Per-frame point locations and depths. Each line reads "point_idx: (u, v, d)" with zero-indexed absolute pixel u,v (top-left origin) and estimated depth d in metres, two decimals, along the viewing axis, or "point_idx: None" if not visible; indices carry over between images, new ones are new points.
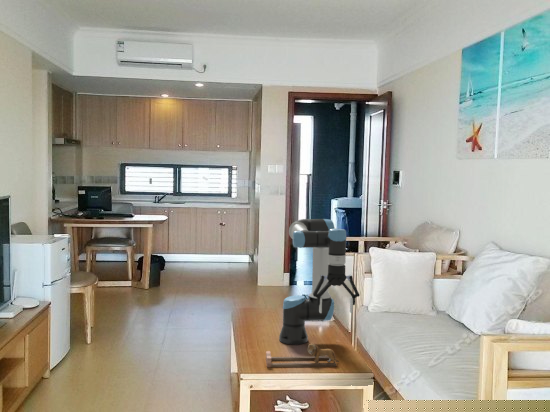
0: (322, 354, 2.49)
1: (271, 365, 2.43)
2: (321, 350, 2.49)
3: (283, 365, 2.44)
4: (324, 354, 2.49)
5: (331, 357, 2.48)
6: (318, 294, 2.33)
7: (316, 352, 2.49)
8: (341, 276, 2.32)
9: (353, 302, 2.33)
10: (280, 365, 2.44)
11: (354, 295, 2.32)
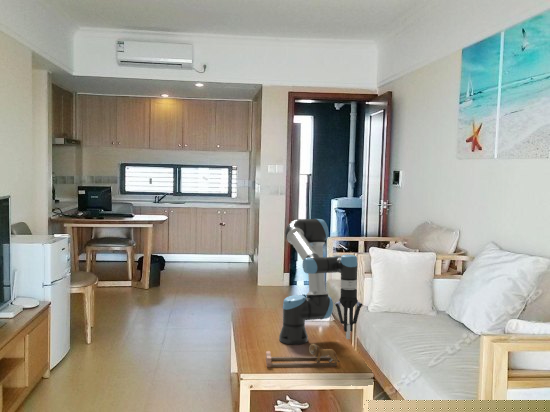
0: (324, 354, 2.49)
1: (271, 365, 2.43)
2: (322, 350, 2.49)
3: (283, 365, 2.44)
4: (326, 354, 2.49)
5: (333, 357, 2.48)
6: None
7: (318, 352, 2.49)
8: (354, 298, 2.48)
9: (350, 329, 2.49)
10: (280, 365, 2.44)
11: (352, 323, 2.48)
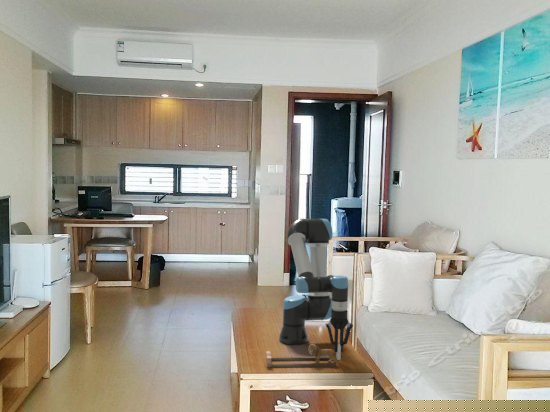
0: (323, 354, 2.49)
1: (271, 365, 2.43)
2: (322, 350, 2.49)
3: (283, 365, 2.44)
4: (325, 354, 2.49)
5: (332, 357, 2.48)
6: None
7: (317, 352, 2.48)
8: (345, 319, 2.48)
9: (341, 349, 2.50)
10: (280, 365, 2.44)
11: (342, 343, 2.49)
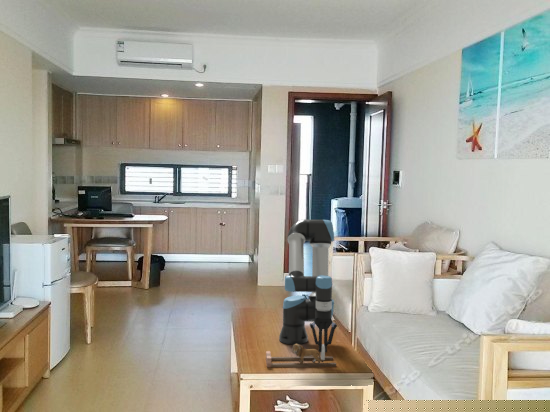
0: (307, 354, 2.48)
1: (271, 365, 2.43)
2: (306, 350, 2.49)
3: (283, 365, 2.44)
4: (309, 354, 2.48)
5: (316, 357, 2.47)
6: None
7: (301, 352, 2.48)
8: (329, 319, 2.48)
9: (325, 349, 2.49)
10: (280, 365, 2.44)
11: (327, 343, 2.49)
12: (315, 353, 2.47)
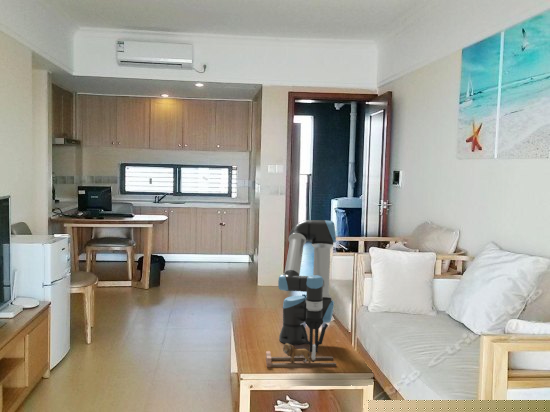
0: (297, 354, 2.48)
1: (271, 365, 2.43)
2: (296, 350, 2.49)
3: (283, 365, 2.44)
4: (299, 354, 2.48)
5: (306, 357, 2.47)
6: None
7: (291, 352, 2.48)
8: (320, 319, 2.48)
9: (316, 349, 2.49)
10: (280, 365, 2.44)
11: (317, 343, 2.48)
12: (305, 353, 2.47)
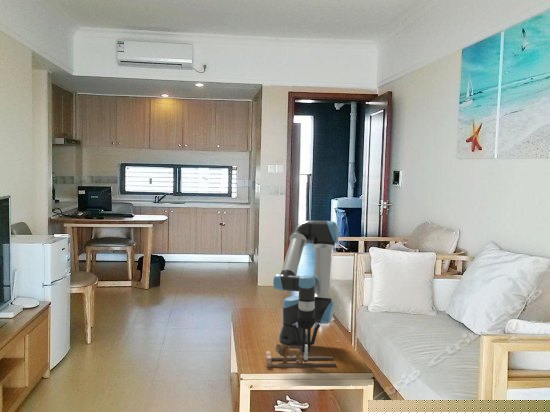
0: (290, 354, 2.48)
1: (271, 365, 2.43)
2: (289, 350, 2.49)
3: (283, 365, 2.44)
4: (292, 354, 2.48)
5: (298, 357, 2.47)
6: None
7: (284, 352, 2.48)
8: (312, 319, 2.47)
9: (308, 349, 2.49)
10: (280, 365, 2.44)
11: (310, 343, 2.48)
12: (298, 353, 2.47)
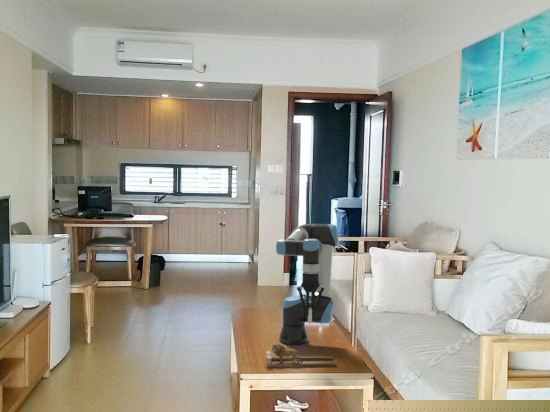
0: (286, 354, 2.48)
1: (271, 365, 2.43)
2: (285, 350, 2.49)
3: (283, 365, 2.44)
4: (288, 354, 2.48)
5: (295, 357, 2.47)
6: None
7: (280, 352, 2.48)
8: (316, 282, 2.46)
9: (312, 313, 2.48)
10: (280, 365, 2.44)
11: (314, 307, 2.47)
12: (294, 353, 2.47)
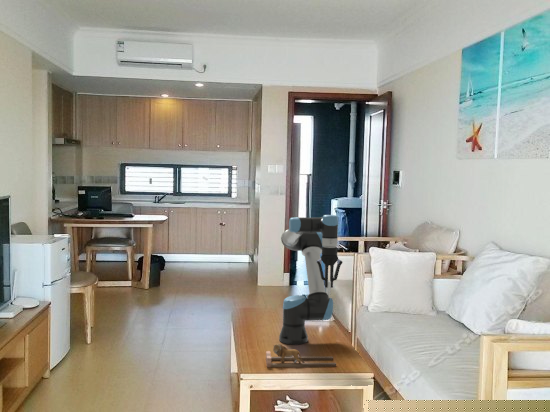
0: (287, 354, 2.48)
1: (271, 365, 2.43)
2: (287, 350, 2.48)
3: (283, 365, 2.44)
4: (289, 354, 2.48)
5: (296, 358, 2.46)
6: None
7: (281, 352, 2.48)
8: (335, 256, 2.60)
9: (331, 285, 2.62)
10: (280, 365, 2.44)
11: (332, 279, 2.61)
12: (295, 353, 2.47)
